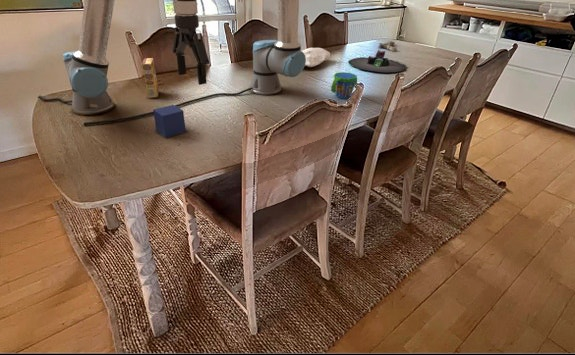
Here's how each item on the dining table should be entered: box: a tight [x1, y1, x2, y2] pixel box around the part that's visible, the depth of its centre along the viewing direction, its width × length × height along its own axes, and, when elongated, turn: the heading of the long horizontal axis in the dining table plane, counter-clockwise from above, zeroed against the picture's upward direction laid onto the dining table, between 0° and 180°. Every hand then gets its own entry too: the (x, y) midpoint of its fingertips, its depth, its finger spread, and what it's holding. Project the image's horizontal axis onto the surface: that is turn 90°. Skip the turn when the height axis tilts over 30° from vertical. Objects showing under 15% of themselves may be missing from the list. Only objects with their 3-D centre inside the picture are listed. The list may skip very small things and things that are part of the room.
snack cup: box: [330, 71, 358, 100], centre depth 171 cm, size 16×10×10 cm
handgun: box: [378, 40, 398, 52], centre depth 263 cm, size 3×18×15 cm
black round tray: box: [347, 49, 407, 74], centre depth 221 cm, size 35×35×9 cm
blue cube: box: [152, 104, 187, 139], centre depth 134 cm, size 8×7×8 cm
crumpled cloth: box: [301, 47, 331, 68], centre depth 217 cm, size 24×35×9 cm
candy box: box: [141, 57, 160, 99], centre depth 163 cm, size 9×4×15 cm, turn 13°
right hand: (192, 79), depth 130 cm, fingers open, 13 cm apart
